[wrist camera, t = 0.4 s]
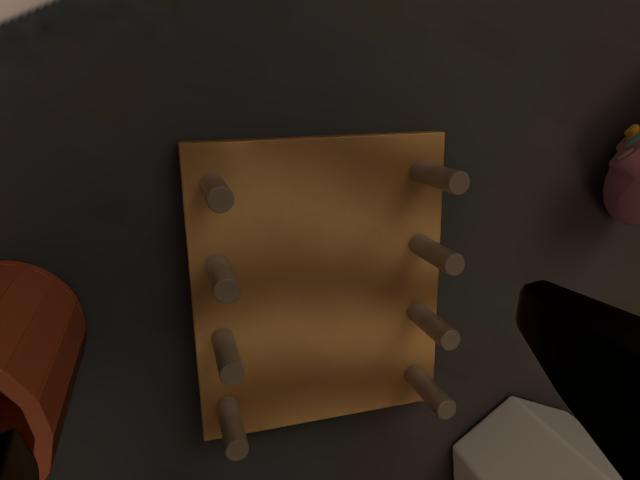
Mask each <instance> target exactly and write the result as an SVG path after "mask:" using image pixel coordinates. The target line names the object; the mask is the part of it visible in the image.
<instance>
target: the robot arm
mask: <svg viewBox="0 0 640 480" xmlns="http://www.w3.org/2000/svg"><path fill="white" fill-rule="evenodd" d="M516 322H517V326H518V328H519V330H520V332H521V333H522V335H523V337H524V338H525V340H526V342H527V343H528V345H529V347H530V348H531V350H532V352H533V353H534V355H535V357H536V358H537V360H538V361H539V363H540V365H541V366H542V368H543V370H544V371H545V373H546V375H547V376H548V378H549V380H550V381H551V383H552V384H553V386H554V387H555V389H556V391H557V392H558V394H559V395H560V396H561V398H562V399H563V401H564V402H565V403H566V405H567V406H568V408H569V409H570V410H571V411H572V413H573V414H574V415H575V417H576V418H577V419H578V421H579V422H580V423H581V425H582V426H583V427H584V429H585V430H586V431H587V433H588V434H589V435H590V437H591V438H592V439H593V441H594V442H595V443H596V445H597V446H598V447H599V449H600V450H601V451H602V453H603V454H604V455H605V456H606V458H607V459H608V460H609V462H610V463H611V464H612V466H613V467H614V468H615V470H616V471H617V472H618V474H619V475H620V476H621V478H622V479H623V480H640V316H637V315H634V314H632V313H629V312H627V311H624V310H621V309H619V308H616V307H613V306H611V305H608V304H606V303H603V302H600V301H598V300H595V299H593V298H590V297H587V296H585V295H582V294H580V293H577V292H574V291H572V290H569V289H566V288H564V287H561V286H559V285H556V284H553V283H551V282H548V281H545V280H539V281H536V282H532V283H529V284H526V285H524V286H523V287H522V289H521V291H520V297H519V302H518V307H517V313H516ZM0 480H39V468H38V464H37V461H36V458H35V457H34V455H33V453H32V452H31V450H30V448H29V447H28V445H27V443H26V441H25V440H24V438H23V436H22V435H21V433H20V432H19V431H18V430H17V429H9V430H5V431H2V432H0Z"/></svg>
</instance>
